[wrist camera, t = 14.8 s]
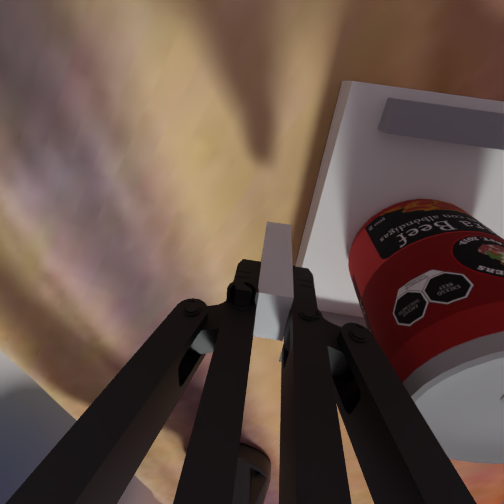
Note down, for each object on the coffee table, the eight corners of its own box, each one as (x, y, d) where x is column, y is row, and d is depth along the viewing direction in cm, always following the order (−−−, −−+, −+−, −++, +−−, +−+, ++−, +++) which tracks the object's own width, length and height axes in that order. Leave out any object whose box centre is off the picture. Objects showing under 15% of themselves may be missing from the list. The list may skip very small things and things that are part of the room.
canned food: (493, 199, 16) (771, 360, 7) (436, 298, 20) (559, 477, 11) (363, 188, 17) (460, 325, 7) (334, 287, 21) (372, 451, 12)
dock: (473, 328, 26) (552, 432, 18) (286, 298, 26) (287, 388, 19) (648, 122, 16) (982, 162, 8) (342, 80, 16) (391, 81, 9)
